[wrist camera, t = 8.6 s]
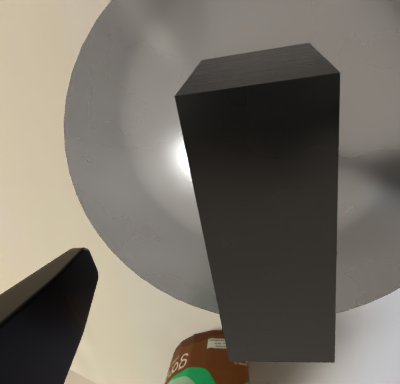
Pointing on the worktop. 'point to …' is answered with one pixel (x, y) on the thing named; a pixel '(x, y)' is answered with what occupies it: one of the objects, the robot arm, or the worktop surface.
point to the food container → (206, 362)
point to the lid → (245, 159)
